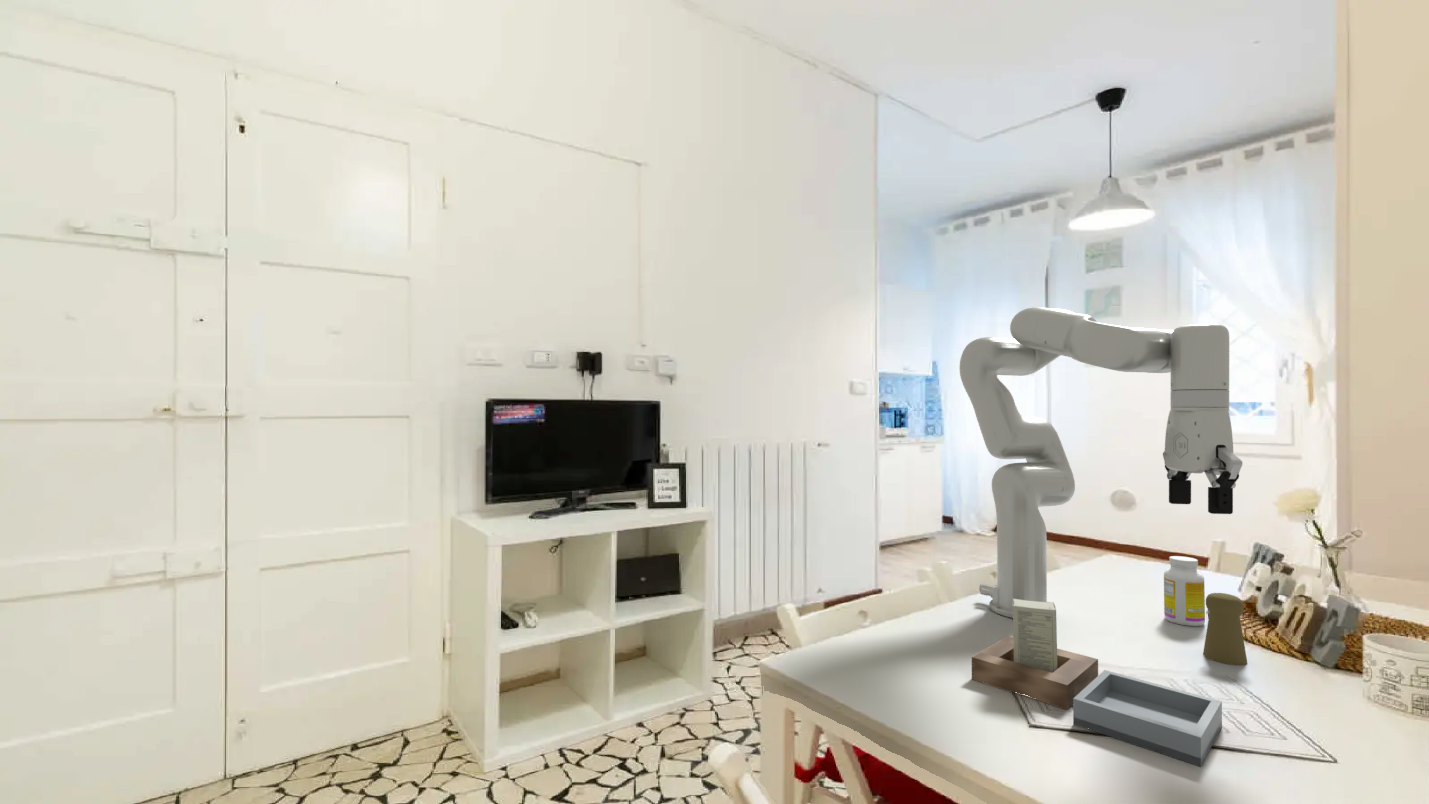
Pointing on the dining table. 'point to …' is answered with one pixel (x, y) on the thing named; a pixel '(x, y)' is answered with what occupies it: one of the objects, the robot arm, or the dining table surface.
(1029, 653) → the skincare box
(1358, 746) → the dining table surface
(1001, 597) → the robot arm
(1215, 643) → the cork
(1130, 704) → the tray
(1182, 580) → the supplement bottle
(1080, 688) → the frame
